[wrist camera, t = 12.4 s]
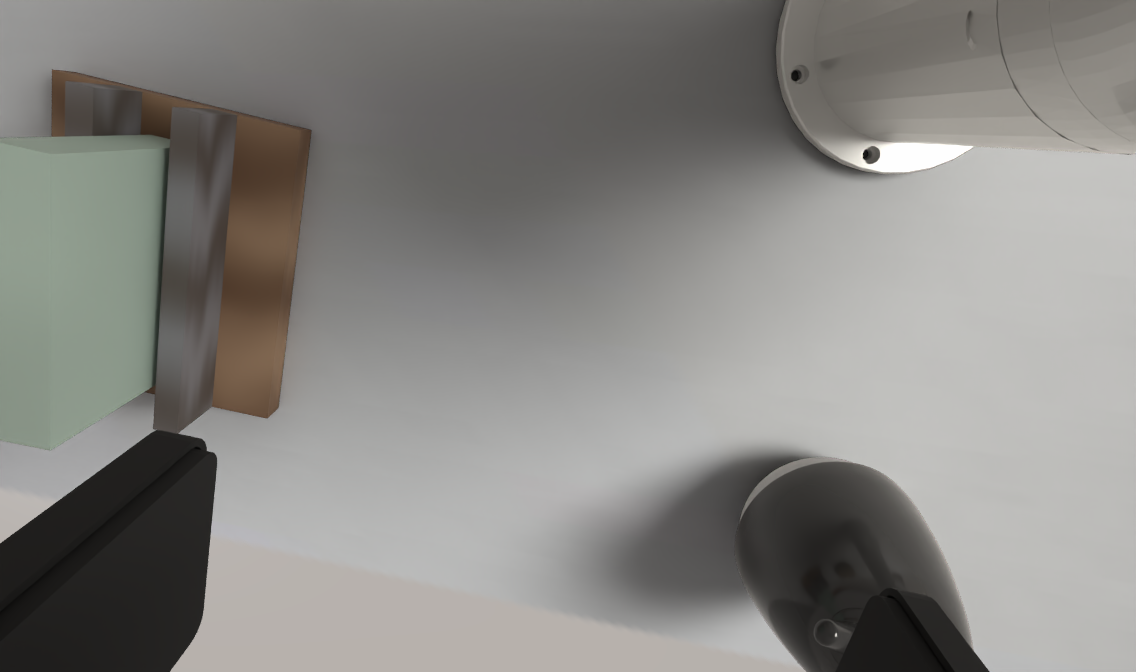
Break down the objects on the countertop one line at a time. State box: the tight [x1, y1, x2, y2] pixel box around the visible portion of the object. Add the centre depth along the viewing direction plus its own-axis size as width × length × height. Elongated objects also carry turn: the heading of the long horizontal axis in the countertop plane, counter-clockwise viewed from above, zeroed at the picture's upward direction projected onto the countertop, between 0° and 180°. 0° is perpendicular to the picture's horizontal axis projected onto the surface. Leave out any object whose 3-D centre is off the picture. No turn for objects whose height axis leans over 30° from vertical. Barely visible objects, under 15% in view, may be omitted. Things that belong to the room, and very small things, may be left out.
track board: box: [52, 70, 311, 434], centre depth 34 cm, size 16×12×5 cm
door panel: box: [0, 135, 170, 451], centre depth 30 cm, size 12×2×10 cm, turn 167°
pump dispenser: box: [735, 457, 974, 672], centre depth 34 cm, size 10×10×15 cm
